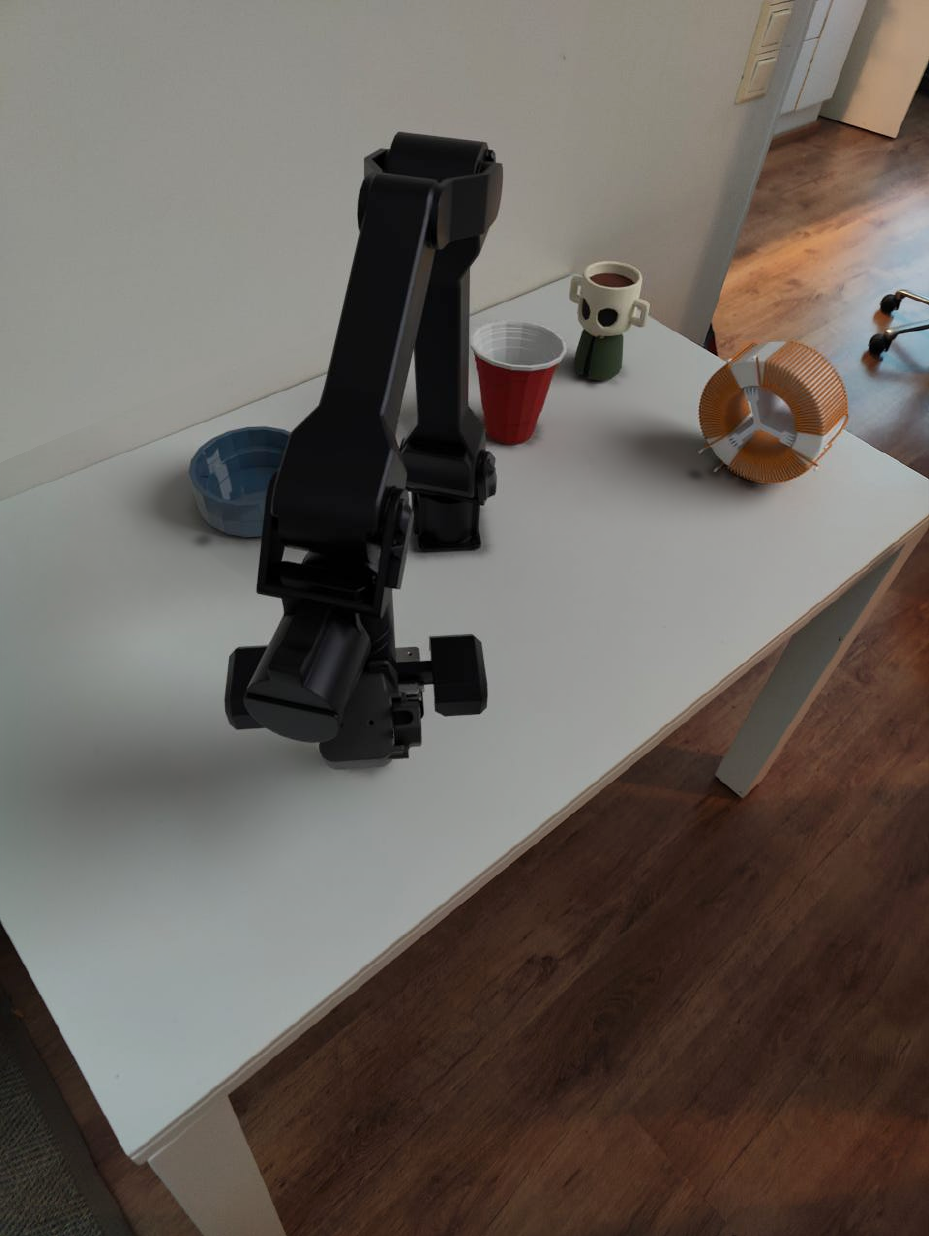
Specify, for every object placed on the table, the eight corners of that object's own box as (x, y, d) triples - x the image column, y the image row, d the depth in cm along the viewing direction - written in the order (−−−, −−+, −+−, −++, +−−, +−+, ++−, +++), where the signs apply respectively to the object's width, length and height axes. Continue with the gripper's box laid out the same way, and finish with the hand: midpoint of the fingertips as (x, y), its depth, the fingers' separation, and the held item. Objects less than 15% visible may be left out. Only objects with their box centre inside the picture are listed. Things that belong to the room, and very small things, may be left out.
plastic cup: (571, 422, 100) (585, 333, 91) (527, 469, 94) (537, 378, 85) (495, 393, 104) (501, 303, 95) (448, 436, 98) (450, 345, 88)
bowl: (320, 460, 94) (315, 424, 90) (318, 538, 86) (312, 502, 82) (206, 464, 93) (196, 428, 89) (192, 543, 85) (181, 507, 81)
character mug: (546, 367, 108) (558, 271, 98) (575, 344, 112) (589, 249, 102) (619, 398, 104) (638, 301, 94) (646, 373, 108) (667, 277, 98)
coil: (709, 428, 100) (744, 315, 89) (823, 483, 94) (877, 369, 83) (679, 454, 97) (712, 340, 85) (796, 513, 90) (848, 398, 79)
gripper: (195, 725, 49) (241, 840, 61) (503, 706, 51) (489, 822, 63) (214, 588, 56) (251, 715, 68) (483, 575, 58) (474, 701, 70)
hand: (365, 739), depth 67 cm, fingers closed on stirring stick, 2 cm apart
